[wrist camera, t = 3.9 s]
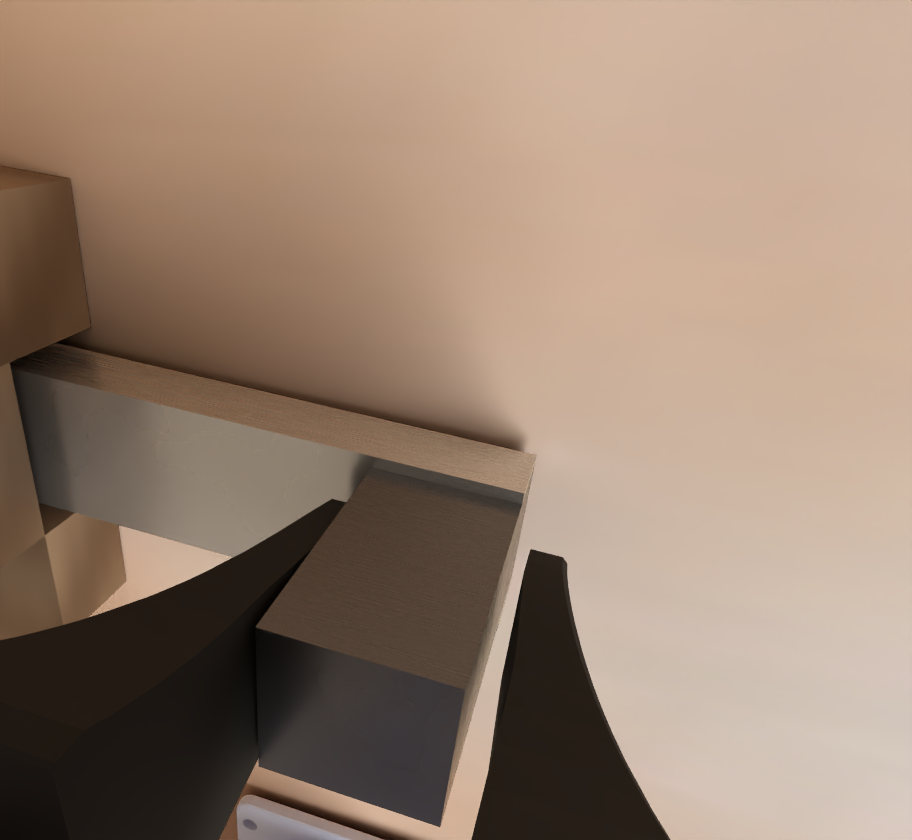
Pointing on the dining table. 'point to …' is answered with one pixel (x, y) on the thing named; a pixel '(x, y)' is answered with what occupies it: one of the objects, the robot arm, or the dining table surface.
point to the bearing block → (3, 441)
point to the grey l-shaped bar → (324, 569)
